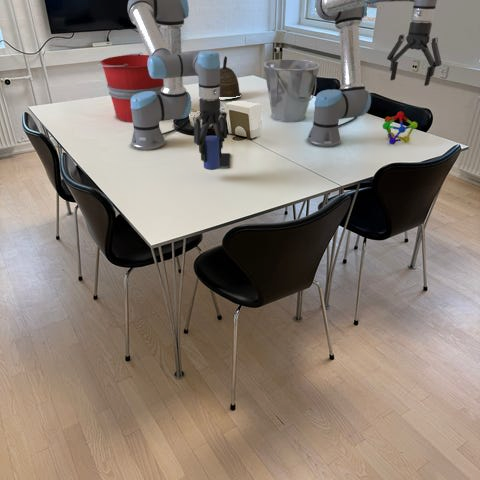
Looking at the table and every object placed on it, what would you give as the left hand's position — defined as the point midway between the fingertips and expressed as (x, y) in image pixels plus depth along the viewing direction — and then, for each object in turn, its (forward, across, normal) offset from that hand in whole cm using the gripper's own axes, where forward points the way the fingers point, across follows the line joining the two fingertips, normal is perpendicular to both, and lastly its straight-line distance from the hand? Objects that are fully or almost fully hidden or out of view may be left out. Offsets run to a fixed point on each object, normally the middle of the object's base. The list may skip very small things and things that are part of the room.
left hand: (211, 158), depth 171 cm
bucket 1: (+10, +16, +95) cm, 97 cm away
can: (+3, 0, 0) cm, 3 cm away
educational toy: (+8, +93, -19) cm, 95 cm away
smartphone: (+8, +13, +12) cm, 20 cm away
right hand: (-25, +71, -33) cm, 82 cm away
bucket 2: (+9, +81, +43) cm, 92 cm away
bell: (+10, +78, +98) cm, 126 cm away
